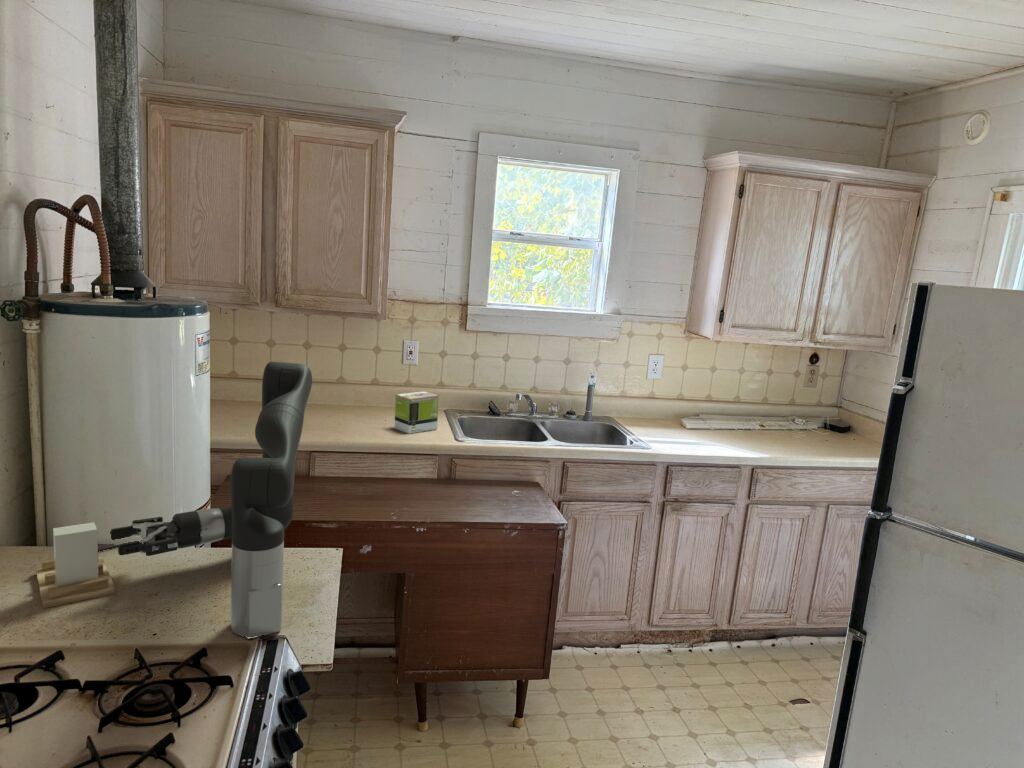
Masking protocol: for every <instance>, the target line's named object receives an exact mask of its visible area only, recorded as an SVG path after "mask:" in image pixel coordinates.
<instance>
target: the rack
mask: <svg viewBox="0 0 1024 768" xmlns="http://www.w3.org/2000/svg"><path fill="white" fill-rule="evenodd" d="M36 575H37V576H36ZM35 576H36V580H38V581H37V585H38V590H39V595H40V599H41V604H42V609H47V608H48V609H49V608H51V607H56V606H61V605H66V604H71V603H75V602H80V601H85V600H89V599H94V598H99V597H103V596H110V595H113V594H116V586H115V584H114V582H113V580H112V578H111V575H110V572H109V570H108V567H107V565H106V563H105V560H104V557H103V556H98V579H94V580H89V581H83V582H78V583H73V584H68V585H63V586H58V587H56V586H55V566H54V558H51V559H43V560H41V567H38V568H35Z"/></svg>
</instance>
